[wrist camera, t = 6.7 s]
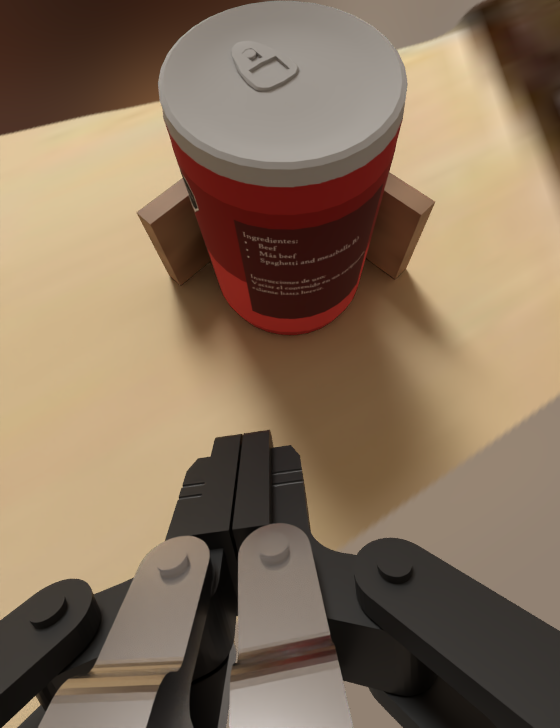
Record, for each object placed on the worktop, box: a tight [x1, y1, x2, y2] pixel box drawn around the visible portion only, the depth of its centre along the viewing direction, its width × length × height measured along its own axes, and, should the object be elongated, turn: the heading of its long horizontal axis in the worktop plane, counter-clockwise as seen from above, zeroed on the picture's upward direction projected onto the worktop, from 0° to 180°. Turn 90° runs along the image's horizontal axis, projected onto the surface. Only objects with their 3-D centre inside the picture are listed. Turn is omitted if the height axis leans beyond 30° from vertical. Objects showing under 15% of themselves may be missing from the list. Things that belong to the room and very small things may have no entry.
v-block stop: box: [137, 172, 435, 286], centre depth 21 cm, size 13×7×5 cm, turn 91°
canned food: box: [158, 1, 407, 335], centre depth 17 cm, size 8×8×11 cm
